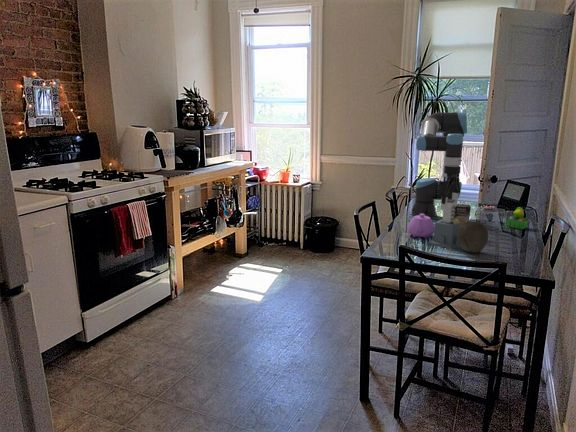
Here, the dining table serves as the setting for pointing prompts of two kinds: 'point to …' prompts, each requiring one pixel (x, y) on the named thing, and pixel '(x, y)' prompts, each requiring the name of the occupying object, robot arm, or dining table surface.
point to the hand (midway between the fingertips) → (449, 207)
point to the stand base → (446, 234)
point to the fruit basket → (517, 219)
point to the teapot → (421, 226)
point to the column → (449, 212)
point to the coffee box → (462, 213)
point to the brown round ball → (472, 236)
